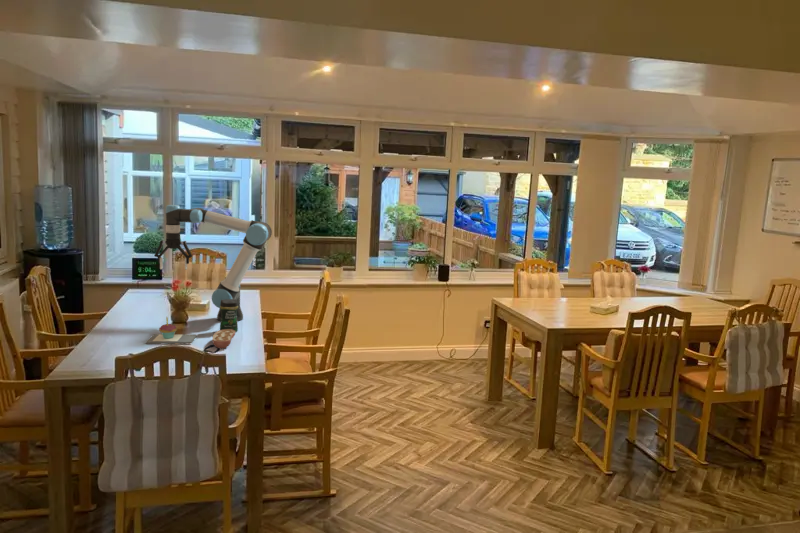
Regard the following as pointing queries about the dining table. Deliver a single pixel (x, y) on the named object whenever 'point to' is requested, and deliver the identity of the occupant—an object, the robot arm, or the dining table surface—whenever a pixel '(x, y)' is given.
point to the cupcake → (168, 330)
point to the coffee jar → (229, 314)
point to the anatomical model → (223, 338)
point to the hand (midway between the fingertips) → (173, 269)
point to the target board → (171, 339)
